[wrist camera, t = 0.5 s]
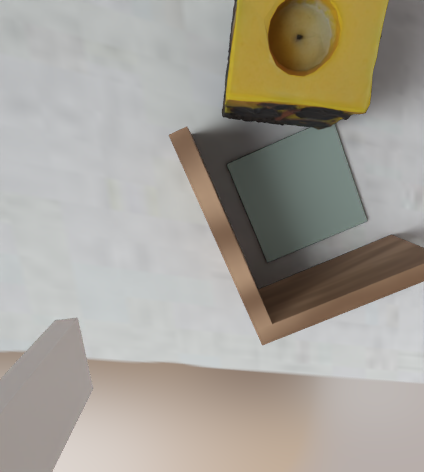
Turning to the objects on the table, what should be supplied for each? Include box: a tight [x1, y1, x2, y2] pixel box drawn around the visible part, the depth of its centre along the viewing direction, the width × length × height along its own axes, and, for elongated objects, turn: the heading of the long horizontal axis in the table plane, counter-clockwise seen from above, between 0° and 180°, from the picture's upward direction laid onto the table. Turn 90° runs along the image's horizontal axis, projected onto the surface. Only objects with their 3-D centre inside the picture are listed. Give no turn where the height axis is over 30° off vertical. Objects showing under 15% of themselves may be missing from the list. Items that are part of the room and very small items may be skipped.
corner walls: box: [169, 127, 424, 345], centre depth 31 cm, size 19×16×8 cm
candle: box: [222, 0, 389, 130], centre depth 27 cm, size 10×10×10 cm
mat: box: [227, 124, 367, 262], centre depth 35 cm, size 11×11×1 cm
